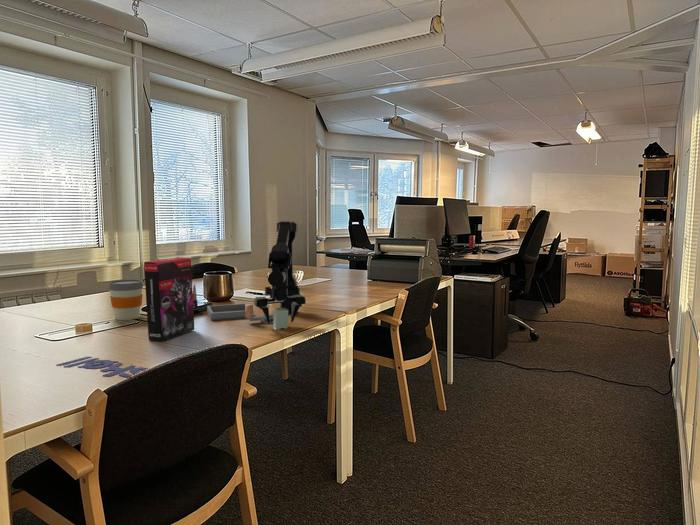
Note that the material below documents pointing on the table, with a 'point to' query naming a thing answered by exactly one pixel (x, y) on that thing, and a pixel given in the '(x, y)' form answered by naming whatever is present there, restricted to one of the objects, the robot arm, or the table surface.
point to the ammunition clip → (194, 297)
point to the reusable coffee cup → (126, 298)
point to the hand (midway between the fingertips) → (280, 322)
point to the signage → (104, 363)
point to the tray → (226, 311)
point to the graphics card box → (169, 297)
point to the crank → (250, 314)
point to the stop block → (280, 318)
